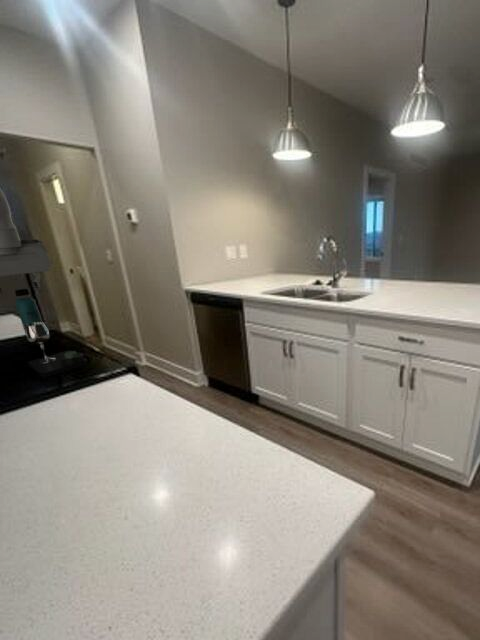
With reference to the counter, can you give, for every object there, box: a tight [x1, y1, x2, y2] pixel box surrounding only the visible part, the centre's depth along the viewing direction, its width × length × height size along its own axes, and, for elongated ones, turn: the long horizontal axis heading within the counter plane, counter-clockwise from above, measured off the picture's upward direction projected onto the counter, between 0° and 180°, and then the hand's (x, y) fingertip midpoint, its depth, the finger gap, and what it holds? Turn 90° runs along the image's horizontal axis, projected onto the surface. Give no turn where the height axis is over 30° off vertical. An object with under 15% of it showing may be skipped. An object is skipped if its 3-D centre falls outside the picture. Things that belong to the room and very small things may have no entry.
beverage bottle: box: [14, 288, 44, 332], centre depth 130 cm, size 6×7×20 cm
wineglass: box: [24, 321, 56, 363], centre depth 106 cm, size 6×6×12 cm
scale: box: [27, 350, 89, 379], centre depth 108 cm, size 12×16×3 cm
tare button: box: [64, 350, 78, 359], centre depth 106 cm, size 3×3×2 cm
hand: (18, 290), depth 102 cm, fingers open, 8 cm apart
